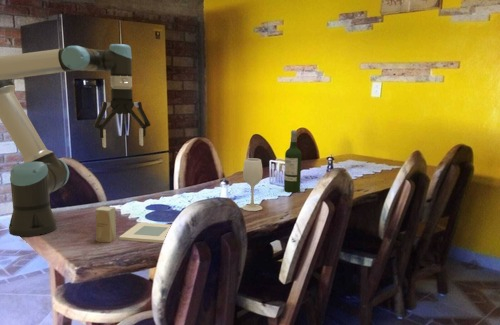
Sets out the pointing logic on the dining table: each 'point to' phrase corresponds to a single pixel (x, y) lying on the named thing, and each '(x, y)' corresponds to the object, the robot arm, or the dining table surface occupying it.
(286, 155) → the wine bottle
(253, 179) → the wineglass
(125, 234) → the tile
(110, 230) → the box
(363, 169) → the dining table surface
